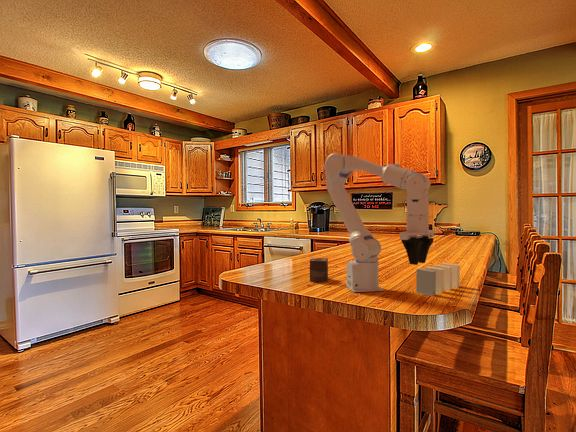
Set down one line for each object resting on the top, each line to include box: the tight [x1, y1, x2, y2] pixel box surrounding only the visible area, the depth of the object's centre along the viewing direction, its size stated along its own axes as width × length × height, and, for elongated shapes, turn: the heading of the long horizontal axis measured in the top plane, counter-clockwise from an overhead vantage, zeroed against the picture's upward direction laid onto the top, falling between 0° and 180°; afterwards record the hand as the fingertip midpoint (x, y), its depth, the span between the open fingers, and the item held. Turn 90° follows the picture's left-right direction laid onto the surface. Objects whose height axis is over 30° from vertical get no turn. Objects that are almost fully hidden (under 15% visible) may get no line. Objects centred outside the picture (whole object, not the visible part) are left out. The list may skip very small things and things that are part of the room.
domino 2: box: [424, 266, 445, 294], centre depth 95 cm, size 2×5×7 cm, turn 37°
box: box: [309, 257, 329, 283], centre depth 110 cm, size 6×6×7 cm
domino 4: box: [441, 262, 461, 289], centre depth 101 cm, size 2×5×7 cm, turn 37°
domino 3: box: [433, 264, 453, 291], centre depth 98 cm, size 2×5×7 cm, turn 37°
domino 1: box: [415, 268, 437, 297], centre depth 92 cm, size 2×5×7 cm, turn 37°
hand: (417, 263), depth 89 cm, fingers open, 3 cm apart
